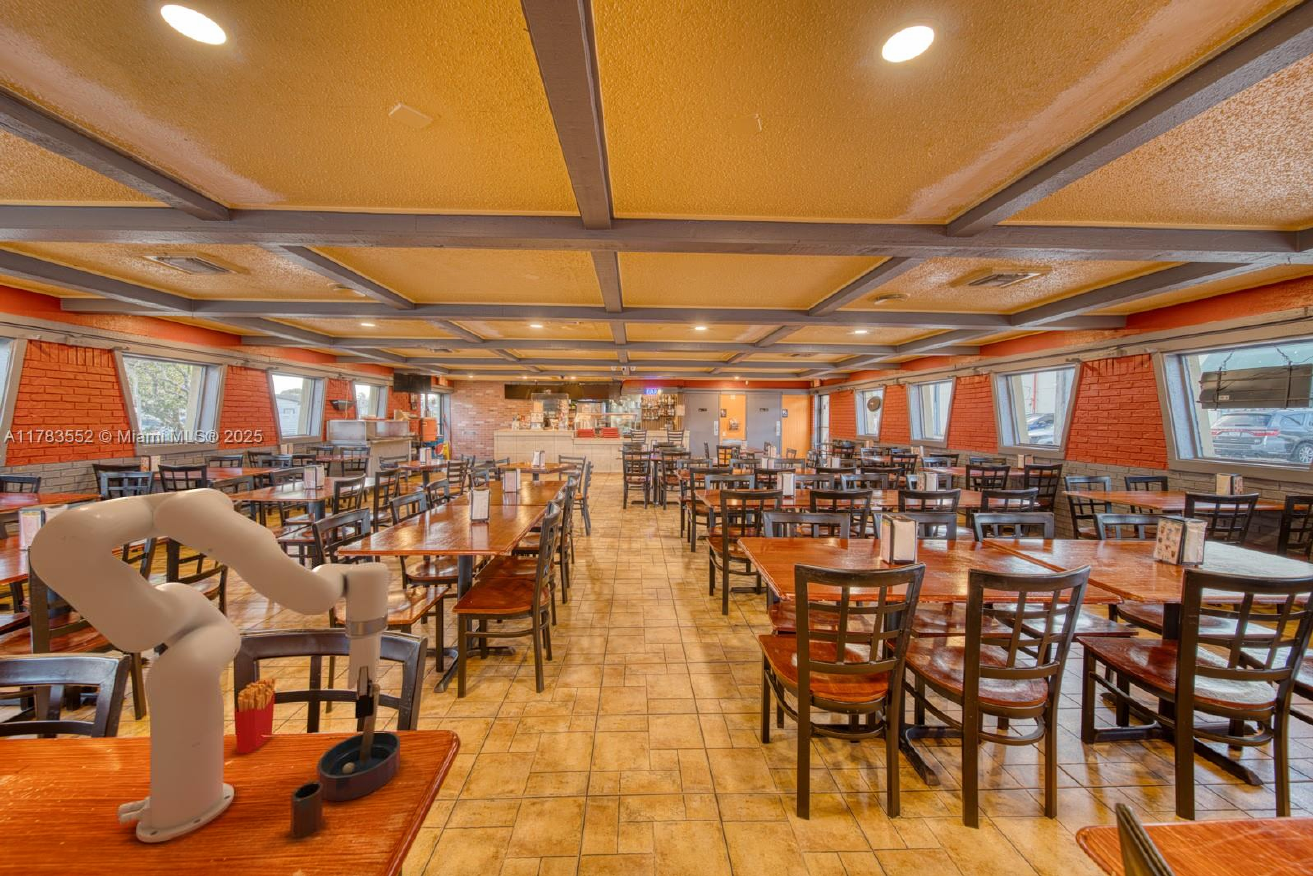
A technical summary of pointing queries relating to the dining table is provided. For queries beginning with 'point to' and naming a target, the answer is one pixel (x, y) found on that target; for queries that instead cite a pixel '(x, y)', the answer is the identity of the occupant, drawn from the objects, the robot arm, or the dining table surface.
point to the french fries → (254, 715)
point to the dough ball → (348, 768)
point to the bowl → (358, 766)
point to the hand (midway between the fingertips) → (365, 712)
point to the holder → (306, 809)
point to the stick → (369, 729)
